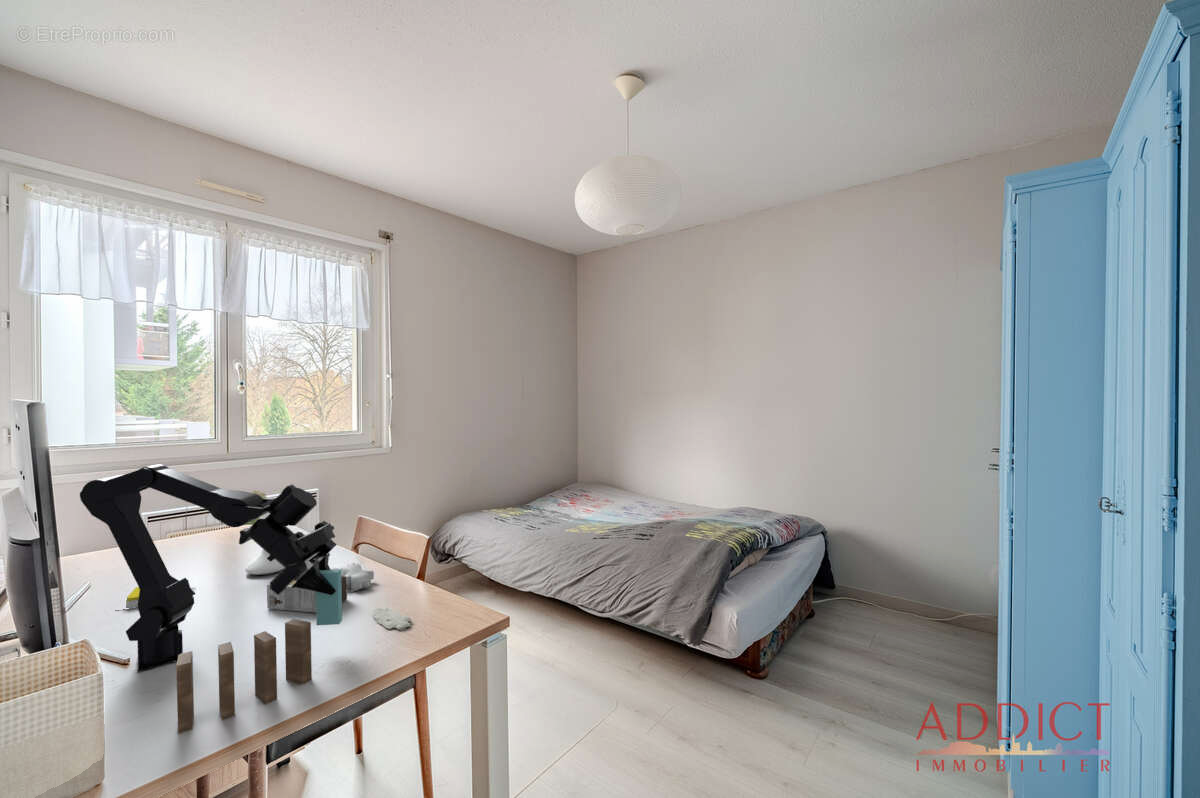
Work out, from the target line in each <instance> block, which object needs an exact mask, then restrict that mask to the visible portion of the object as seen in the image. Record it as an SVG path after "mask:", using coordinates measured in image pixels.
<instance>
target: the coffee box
mask: <svg viewBox="0 0 1200 798" xmlns="http://www.w3.org/2000/svg"><path fill="white" fill-rule="evenodd" d="M295 583H296V581H295V580H293V581H292V582H291V583H290V584H289V585H288V586H287V587H286V589H285V590H284V591H283V592H281V593H280V594H279V595H278V596H277V595H276V594H275V593H274V592H273V591H271V590H270V583H267V585H266V605H267V606H266V607H267V609H269V610H270V609H271V610H279V611H280V610H282V611H295V612H303V613H304V612H306V613H316V591H312V590H307V589H301V588H296V587H295V588H292V586H293V585H294V584H295ZM341 584H342V603H344V602H346V601H347V600H348V592H347V591H348V588H347V584H346V576H341ZM343 601H344V602H343Z"/></svg>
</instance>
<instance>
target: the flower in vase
mask: <svg viewBox="0 0 1200 798" xmlns="http://www.w3.org/2000/svg"><path fill="white" fill-rule="evenodd" d="M248 492H249V493H254V494H257V495H259V496H261V497H262V498H263V499H268V498H267V495H266V492H265V491H263V492H261V491H260V490H253V491H252V492H251V491H248ZM258 519H260V517H259V518H258ZM258 519H256V520H253V521H251V522H249V523H247V524H245V525H244V526H250V525H251V526H252V525H253V524H254V523H255V522H256V521H257V520H258ZM269 556H270V555H269V554H268V553H267V552H266V551H265V550H264V549H263V548H262V551H260V553H259V554H258V555H257V556H256V557H255V558H253V559H251V561H250V562H249V563H248V564H247V565H246V566H245V569H244V571H245V573H247V574H249V575H256V576H258V575H259V576H261V575H262V576H263V575H269V574H273V573H274V574H275V573H276V572H277V573H278V572H281V571H282V570H283V569H284V567H283V566H282V565H281V564H280V563H279V562H277V561H276V560H275V559H274V560H273V561H271V562H270V561H269V560H268V559H267V558H268V557H269Z"/></svg>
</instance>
